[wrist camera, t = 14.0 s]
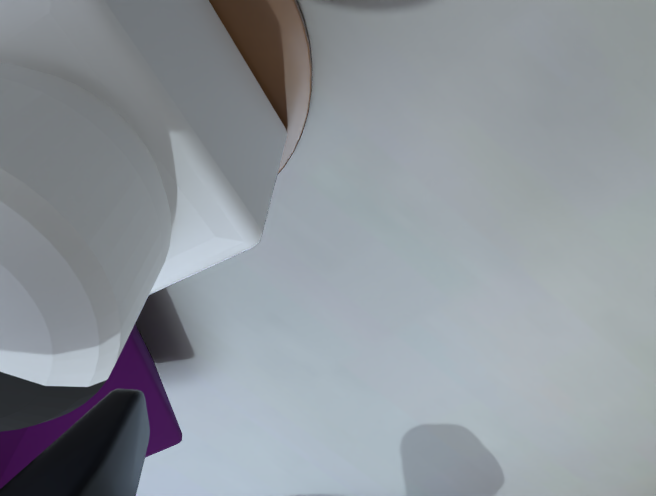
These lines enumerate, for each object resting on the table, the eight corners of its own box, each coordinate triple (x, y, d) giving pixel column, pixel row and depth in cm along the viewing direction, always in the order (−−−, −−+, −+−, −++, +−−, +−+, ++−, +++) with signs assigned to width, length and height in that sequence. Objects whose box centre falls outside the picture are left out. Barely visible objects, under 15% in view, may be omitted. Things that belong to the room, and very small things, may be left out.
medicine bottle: (126, 219, 22) (-73, 519, 11) (-18, 43, 18) (-473, 245, 8) (292, 134, 20) (229, 406, 9) (164, -81, 16) (-140, -14, 6)
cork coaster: (-23, -201, 15) (-31, -203, 15) (364, -38, 17) (364, -36, 17) (-36, 159, 21) (-42, 164, 21) (256, 254, 23) (255, 260, 22)
